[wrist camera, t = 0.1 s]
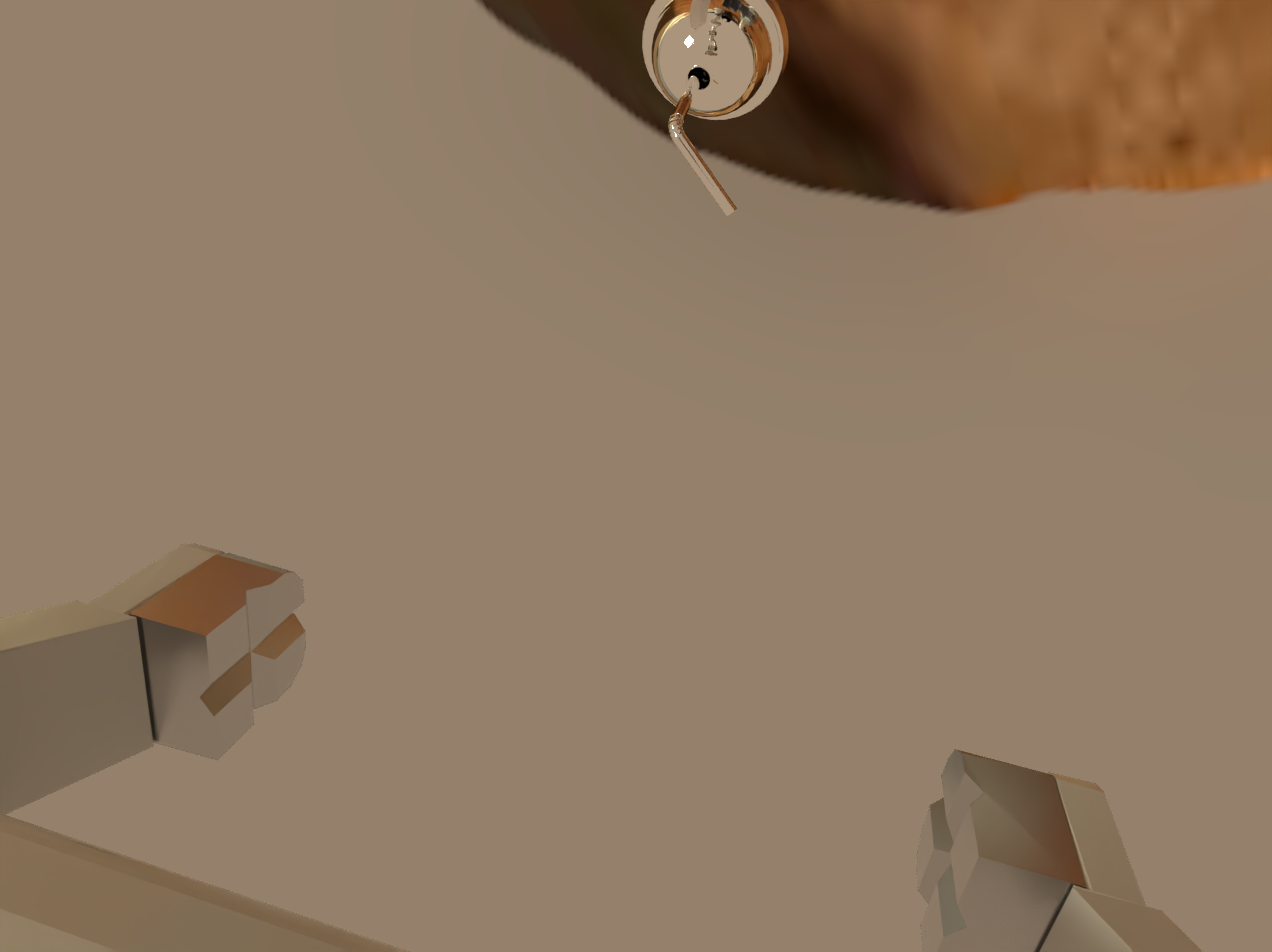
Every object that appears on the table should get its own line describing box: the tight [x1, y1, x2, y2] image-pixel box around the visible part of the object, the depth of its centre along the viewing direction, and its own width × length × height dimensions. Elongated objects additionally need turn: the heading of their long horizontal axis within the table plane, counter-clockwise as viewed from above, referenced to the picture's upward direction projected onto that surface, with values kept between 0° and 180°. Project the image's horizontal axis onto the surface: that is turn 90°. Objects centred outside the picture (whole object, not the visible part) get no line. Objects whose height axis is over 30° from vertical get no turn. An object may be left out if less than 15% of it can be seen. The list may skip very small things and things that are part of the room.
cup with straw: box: [642, 0, 789, 216], centre depth 49 cm, size 8×9×20 cm
